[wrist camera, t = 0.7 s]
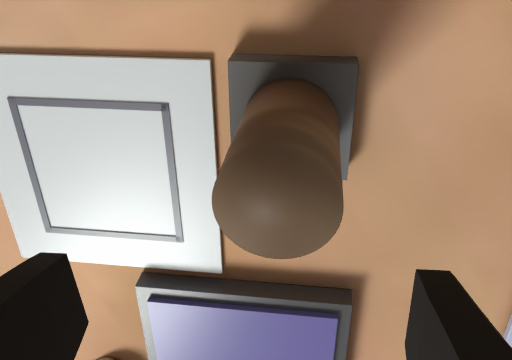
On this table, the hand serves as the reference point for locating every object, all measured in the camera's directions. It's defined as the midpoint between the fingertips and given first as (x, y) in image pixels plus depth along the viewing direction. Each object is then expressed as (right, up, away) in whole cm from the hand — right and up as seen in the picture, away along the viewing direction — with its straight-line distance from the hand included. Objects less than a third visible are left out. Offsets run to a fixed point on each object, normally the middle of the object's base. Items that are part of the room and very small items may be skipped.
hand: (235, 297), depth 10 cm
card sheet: (-6, +3, +10) cm, 12 cm away
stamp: (+2, +5, +8) cm, 10 cm away
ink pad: (0, -5, +14) cm, 15 cm away
